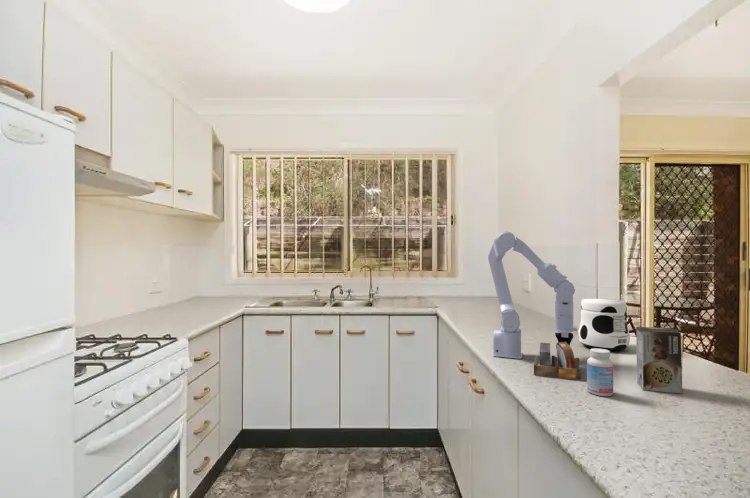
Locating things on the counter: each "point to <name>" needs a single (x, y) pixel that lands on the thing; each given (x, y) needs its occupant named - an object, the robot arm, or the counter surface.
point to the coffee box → (659, 359)
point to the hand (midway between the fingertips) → (564, 354)
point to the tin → (565, 355)
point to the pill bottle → (600, 373)
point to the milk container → (604, 324)
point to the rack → (554, 365)
